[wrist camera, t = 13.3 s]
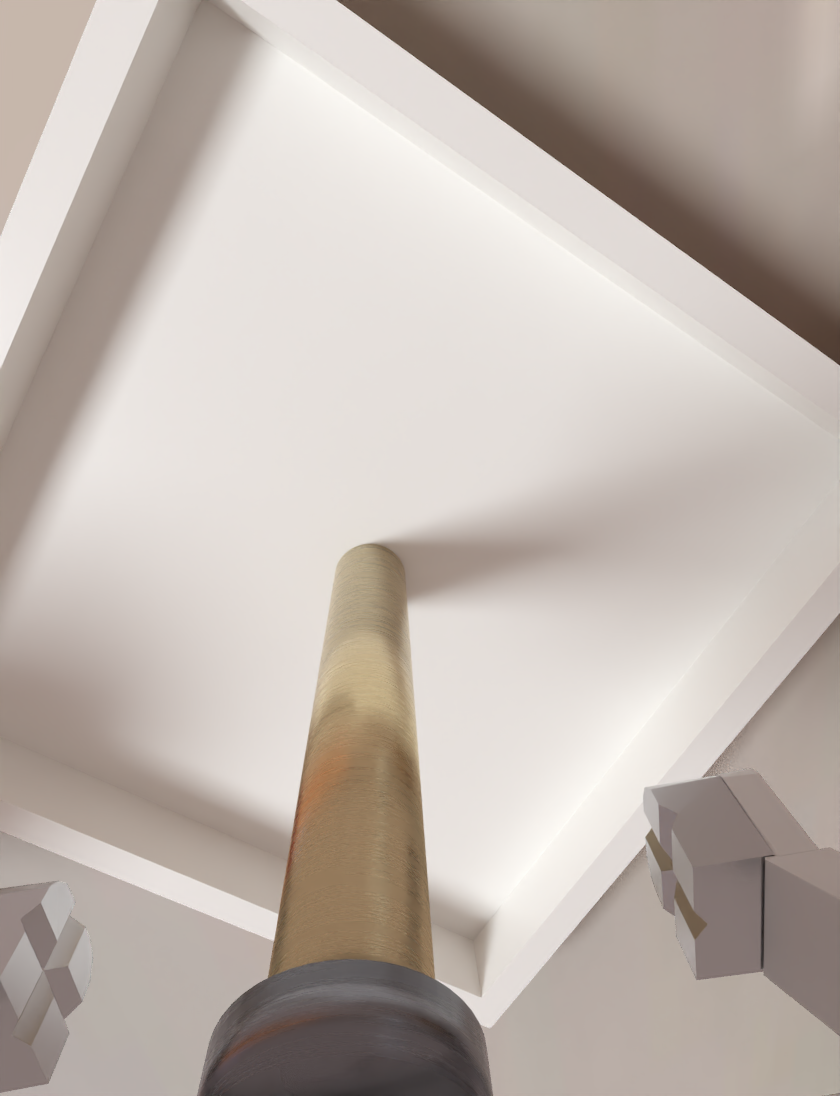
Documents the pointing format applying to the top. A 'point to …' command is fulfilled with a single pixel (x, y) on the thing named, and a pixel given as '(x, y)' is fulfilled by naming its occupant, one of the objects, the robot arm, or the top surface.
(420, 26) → the top surface
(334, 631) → the brass pin
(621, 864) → the off-white tray
